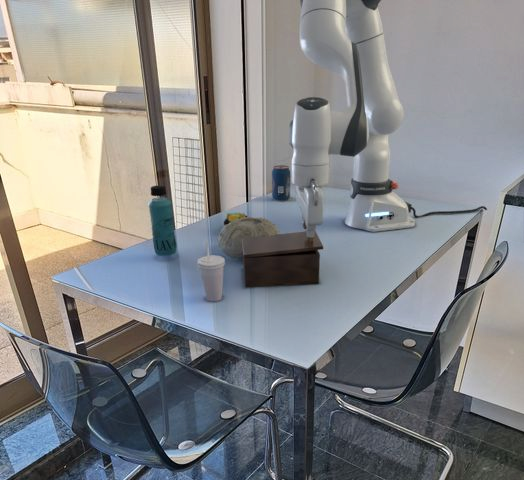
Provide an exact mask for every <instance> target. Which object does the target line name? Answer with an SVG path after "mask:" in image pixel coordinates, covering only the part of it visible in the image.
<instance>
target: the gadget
mask: <svg viewBox="0 0 524 480" xmlns="http://www.w3.org/2000/svg"><path fill="white" fill-rule="evenodd" d="M241 217H242V218H243V217H248V215H246V213H244V212H240V211H236V212H228V213H226V218H225V219H224V221H223V226H225V224H229V223H230V222H231V221H234V220H236V219H238V218H239V219H240V218H241Z"/></svg>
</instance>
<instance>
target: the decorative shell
mask: <svg viewBox="0 0 524 480" xmlns="http://www.w3.org/2000/svg"><path fill="white" fill-rule="evenodd" d="M223 226H224V227H223V228H222V229H221V230H220V232H219V235H218V237H217V246H218V247H219V249H220V250H221V251H222V252H223V253H224V254H225V255H226V256H228V257H230V258H232V259H239V260H243V250H242V238H249V237H258V236H268V235H277V234H281V231H280V230H279V229H278V227H277V226H276V223H273V222H272V221H270V220H269V219H267V218H265V217H264V218H263V217H251V216H247V217H243V218H242V217H241V218H240V219H239V218H238V219H236V220H234V221H231V222H230V223H229V224H225V225H223Z"/></svg>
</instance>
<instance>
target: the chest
mask: <svg viewBox="0 0 524 480" xmlns="http://www.w3.org/2000/svg"><path fill="white" fill-rule="evenodd" d="M242 250H243V245H242ZM320 261H321V254H320V252H319V250H312V251H303V252H294V253H285V254H276V255H266V256H257V257H248V258H244V254H243V259H242V267H243V268H242V269H243V279H244V288H246V289H247V288H265V287H282V286H283V287H284V286H301V285H302V286H303V285H319V284H320V266H321V265H320V264H321V263H320Z"/></svg>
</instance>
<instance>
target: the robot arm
mask: <svg viewBox="0 0 524 480" xmlns="http://www.w3.org/2000/svg"><path fill="white" fill-rule="evenodd" d="M299 1H300V2H299V3H300V8H301V9H300V19H299V46H300V49H301V51H302V53H303V55H304V56H305V57H306V58H307V59H308V60H309V61H310V62H311V63H313V64H314V65H316V66H318V67H320V68H323V69H326V70H329V71H332V72H333V73H335V74H336V75H338V76H340V77H341V79H342V80H343V82H344V84H345V95H346V104H347V109H345V110H331V105H330V102H329V101H328V99H325V98H322V97H319V96H318V97H315V96H312V97H311V96H310V97H305V98H301V99H299V100H298V101H296V103H295V106H294V111H293V119H292V120H290V123H289V136H288V137H289V139H288V140H289V142H288V143H289V145H290V148H292V149H293V151H292V152H293V154H292V156H291V157H292V158H291V168H290V169H291V170H290V184H292V185H294V189H295V200H296V203H297V206H298V208H299V210H300V212H301V219H302V228H303V230H305V231H306V235H307V237H308V238H310V237H314V230H315V231H316V227H317V226H322V225H323V222H324V193H323V191H324V186H326V185H328V184H329V181H330V162H331V161H330V160H331V159H330V156H329V155H333V156H335V155H337V156H338V155H339V156H343V157H352V158H353V170H352V178H351V180H350V188H349V190H350V191H349V197H350V201H349V206H348V211H347V214H346V217H345V220H344V223H345V225H347V226H348V227H351V228H354V229H358V230H365V231H368V232H372V233H376V232H384V231H385V232H386V231H393V230H400V229H402V230H403V229H411V228H414V227H415V225H416V221H415V219H414V218H416V219H417V218H418V219H419V218H424V217H427V216H430V215H440V214H441V215H443V214H445V215H447V214H464V213H474V212H477V211H479V210H481V209H483V210H484V211H488V208H487V207H486V206H484V205H480V206H479V207H477V208H473V209H465V210H446V211H445V210H443V211H440V210H439V211H437V210H436V211H429V212H427V213H424V214H422V215H417V213H416V209H415V207H413V204H411V203H409V202H407V201H405V200H404V199H402V198H401V197H400V196H399V195H398V194H397V193H395V192H394V191H396V190H397V189H398V188H399V184H398V183H397V181H393V180H392V179H390V178H389V174H390V166H391V165H390V164H391V156H392V155H391V154H392V153H391V149H390V142H389V135H390V134H393V133H395V132H396V131H397V130H398V129H399V128H400V127H401V126H402V123H403V121H404V116H405V112H404V107H403V105H402V103H401V101H400V97H399V95H398V91H397V88H396V84H395V80H394V77H393V74H392V71H391V68H390V64H389V60H388V52H387V47H386V41H385V34H384V27H383V22H382V18H381V13H380V10H379V3H381V1H382V0H299ZM393 190H394V191H393ZM411 212H412V214H413V217H414V218H413V217H412V216H410V214H411ZM409 213H410V214H409ZM305 221H306V223H307V227H306V225H305Z"/></svg>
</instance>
